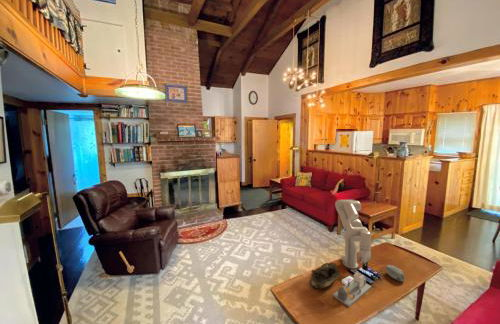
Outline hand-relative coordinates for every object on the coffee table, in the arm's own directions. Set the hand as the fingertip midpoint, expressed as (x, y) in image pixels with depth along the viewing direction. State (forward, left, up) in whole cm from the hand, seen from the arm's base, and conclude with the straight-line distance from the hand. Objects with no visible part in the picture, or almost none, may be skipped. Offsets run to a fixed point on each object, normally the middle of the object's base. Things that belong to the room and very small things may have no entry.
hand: (364, 269), depth 156 cm
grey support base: (-1, -16, -12) cm, 19 cm away
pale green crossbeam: (-1, -16, -8) cm, 18 cm away
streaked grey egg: (+10, +26, -12) cm, 31 cm away
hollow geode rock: (-18, -24, -12) cm, 32 cm away
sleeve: (-1, -8, -10) cm, 12 cm away
